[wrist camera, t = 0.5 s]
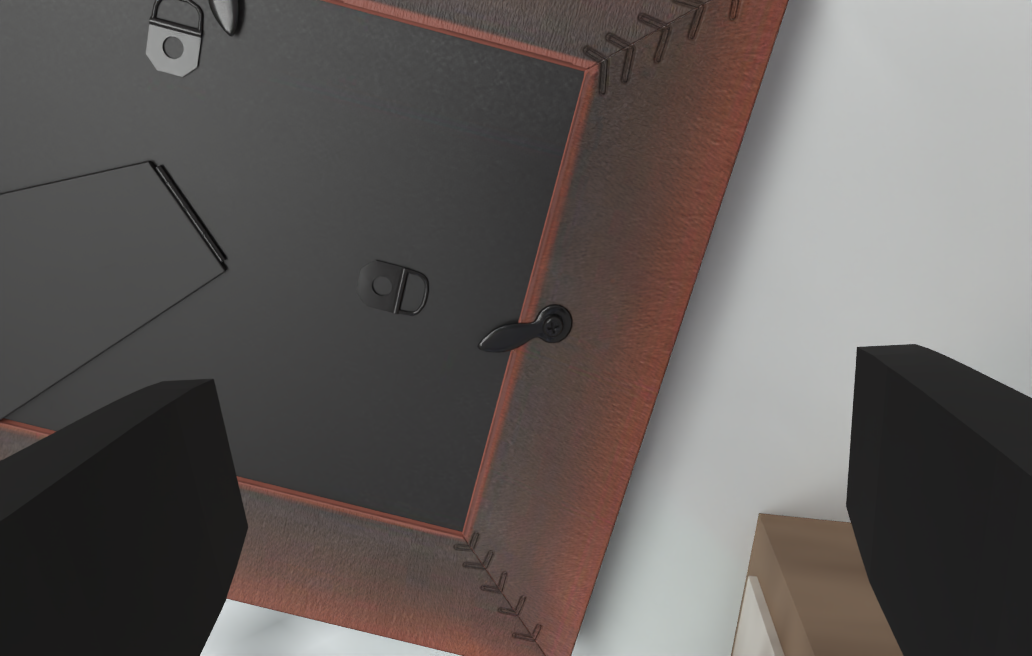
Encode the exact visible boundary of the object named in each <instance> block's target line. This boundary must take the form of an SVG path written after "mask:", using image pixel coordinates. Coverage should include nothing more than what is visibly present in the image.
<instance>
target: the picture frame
mask: <svg viewBox="0 0 1032 656" xmlns="http://www.w3.org/2000/svg"><path fill="white" fill-rule="evenodd" d="M788 1H789V0H0V461H1V460H3V459H5V458H7V457H9V456H11V455H13V454H15V453H17V452H18V451H20V450H22V449H24V448H26V447H28V446H30V445H32V444H34V443H35V442H37V441H39V440H41V439H43V438H45V437H47V436H49V435H51V434H53V433H54V432H56V431H58V430H60V429H62V428H64V427H66V426H68V425H70V424H71V423H73V422H75V421H77V420H79V419H81V418H83V417H85V416H87V415H89V414H91V413H92V412H94V411H96V410H98V409H100V408H102V407H104V406H106V405H108V404H110V403H112V402H114V401H116V400H118V399H120V398H122V397H124V396H127V395H129V394H131V393H133V392H135V391H138V390H140V389H142V388H145V387H147V386H150V385H153V384H156V383H159V382H162V381H176V380H196V379H214V382H215V386H216V390H217V394H218V399H219V403H220V407H221V412H222V416H223V420H224V424H225V429H226V433H227V437H228V442H229V446H230V450H231V454H232V459H233V463H234V467H235V472H236V476H237V480H238V485H239V489H240V493H241V497H242V502H243V506H244V510H245V515H246V519H247V523H248V530H247V534H246V537H245V541H244V544H243V548H242V551H241V554H240V558H239V561H238V565H237V568H236V571H235V574H234V577H233V580H232V583H231V586H230V589H229V592H228V595H227V598H226V599H231V600H235V601H239V602H243V603H247V604H251V605H255V606H260V607H264V608H268V609H272V610H276V611H280V612H284V613H288V614H293V615H297V616H301V617H305V618H309V619H313V620H317V621H321V622H326V623H330V624H334V625H338V626H342V627H346V628H350V629H355V630H359V631H363V632H367V633H371V634H375V635H379V636H383V637H388V638H392V639H396V640H400V641H404V642H408V643H412V644H416V645H421V646H425V647H429V648H433V649H437V650H441V651H445V652H449V653H454V654H458V655H462V656H571V654H572V651H573V648H574V645H575V642H576V639H577V636H578V633H579V630H580V627H581V624H582V621H583V618H584V615H585V612H586V609H587V606H588V603H589V600H590V597H591V594H592V591H593V588H594V585H595V582H596V579H597V576H598V573H599V570H600V567H601V564H602V561H603V558H604V555H605V552H606V549H607V546H608V543H609V540H610V537H611V534H612V531H613V528H614V525H615V522H616V519H617V516H618V513H619V510H620V507H621V504H622V501H623V498H624V495H625V492H626V489H627V486H628V483H629V480H630V477H631V474H632V471H633V468H634V465H635V462H636V459H637V456H638V453H639V450H640V447H641V444H642V441H643V438H644V435H645V432H646V429H647V426H648V423H649V420H650V417H651V414H652V411H653V408H654V405H655V402H656V399H657V396H658V393H659V390H660V386H661V383H662V380H663V377H664V374H665V371H666V368H667V365H668V362H669V359H670V356H671V353H672V350H673V347H674V344H675V341H676V338H677V335H678V332H679V329H680V326H681V323H682V320H683V317H684V314H685V311H686V308H687V305H688V302H689V299H690V296H691V293H692V290H693V287H694V284H695V281H696V278H697V275H698V272H699V269H700V266H701V263H702V260H703V257H704V254H705V251H706V248H707V245H708V242H709V239H710V236H711V233H712V230H713V227H714V224H715V221H716V218H717V215H718V212H719V209H720V206H721V203H722V200H723V197H724V194H725V191H726V188H727V185H728V182H729V179H730V176H731V173H732V170H733V167H734V164H735V161H736V158H737V155H738V152H739V149H740V146H741V143H742V140H743V137H744V134H745V131H746V128H747V125H748V122H749V119H750V116H751V113H752V110H753V107H754V104H755V101H756V98H757V95H758V92H759V89H760V86H761V83H762V80H763V77H764V74H765V71H766V68H767V65H768V62H769V59H770V56H771V52H772V49H773V46H774V43H775V40H776V37H777V34H778V31H779V28H780V25H781V22H782V19H783V16H784V13H785V10H786V7H787V4H788Z"/></svg>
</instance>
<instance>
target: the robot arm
mask: <svg viewBox="0 0 1032 656" xmlns="http://www.w3.org/2000/svg"><path fill="white" fill-rule="evenodd" d="M846 507H847V510H848V514H849V517H850V521H851V524H852V528H853V531H854V535H855V538H856V541H857V545H858V548H859V551H860V555H861V558H862V561H863V564H864V567H865V570H866V573H867V576H868V580H869V583H870V585H871V587H872V589H873V591H874V594H875V596H876V598H877V600H878V602H879V605H880V607H881V609H882V611H883V613H884V615H885V618H886V620H887V622H888V624H889V626H890V628H891V630H892V633H893V635H894V637H895V639H896V641H897V643H898V645H899V647H900V650H901V652H902V654H903V656H1032V398H1031V397H1028V396H1026V395H1024V394H1022V393H1020V392H1018V391H1016V390H1014V389H1012V388H1010V387H1008V386H1006V385H1004V384H1002V383H1000V382H998V381H996V380H994V379H992V378H990V377H988V376H986V375H984V374H982V373H980V372H978V371H976V370H974V369H972V368H970V367H968V366H966V365H964V364H962V363H960V362H958V361H956V360H953V359H951V358H949V357H947V356H945V355H943V354H940V353H938V352H936V351H933V350H931V349H928V348H925V347H922V346H919V345H916V344H909V345H889V346H868V347H857V356H856V370H855V385H854V399H853V414H852V428H851V443H850V457H849V472H848V486H847V501H846ZM247 530H248V523H247V519H246V515H245V510H244V506H243V502H242V497H241V493H240V489H239V485H238V480H237V476H236V472H235V467H234V463H233V459H232V454H231V450H230V446H229V442H228V437H227V433H226V429H225V424H224V420H223V416H222V412H221V407H220V403H219V399H218V394H217V390H216V386H215V382H214V379H196V380H176V381H162V382H159V383H156V384H153V385H150V386H147V387H145V388H142V389H140V390H138V391H135V392H133V393H131V394H129V395H127V396H124V397H122V398H120V399H118V400H116V401H114V402H112V403H110V404H108V405H106V406H104V407H102V408H100V409H98V410H96V411H94V412H92V413H91V414H89V415H87V416H85V417H83V418H81V419H79V420H77V421H75V422H73V423H71V424H70V425H68V426H66V427H64V428H62V429H60V430H58V431H56V432H54V433H53V434H51V435H49V436H47V437H45V438H43V439H41V440H39V441H37V442H35V443H34V444H32V445H30V446H28V447H26V448H24V449H22V450H20V451H18V452H17V453H15V454H13V455H11V456H9V457H7V458H5V459H3V460H1V461H0V656H200V654H201V652H202V650H203V648H204V646H205V644H206V641H207V639H208V637H209V635H210V633H211V631H212V629H213V627H214V625H215V623H216V621H217V618H218V616H219V614H220V612H221V610H222V608H223V605H224V603H225V601H226V598H227V595H228V592H229V589H230V586H231V583H232V580H233V577H234V574H235V571H236V568H237V565H238V561H239V558H240V554H241V551H242V548H243V544H244V541H245V537H246V534H247Z"/></svg>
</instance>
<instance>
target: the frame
mask: <svg viewBox="0 0 1032 656" xmlns="http://www.w3.org/2000/svg"><path fill="white" fill-rule="evenodd" d="M731 656H903V654H902V652H901V650H900V647H899V645H898V643H897V641H896V639H895V637H894V635H893V633H892V630H891V628H890V626H889V624H888V622H887V620H886V618H885V615H884V613H883V611H882V609H881V607H880V605H879V602H878V600H877V598H876V596H875V594H874V591H873V589H872V587H871V585H870V583H869V580H868V576H867V573H866V570H865V567H864V564H863V561H862V558H861V555H860V551H859V548H858V545H857V541H856V538H855V535H854V531H853V528H852V524H851V523H849V522H839V521H829V520H819V519H810V518H800V517H790V516H780V515H771V514H761V513H759V516H758V521H757V526H756V531H755V536H754V541H753V546H752V551H751V556H750V561H749V566H748V572H747V577H746V582H745V587H744V592H743V597H742V602H741V607H740V612H739V617H738V622H737V627H736V632H735V638H734V643H733V648H732V653H731Z"/></svg>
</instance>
